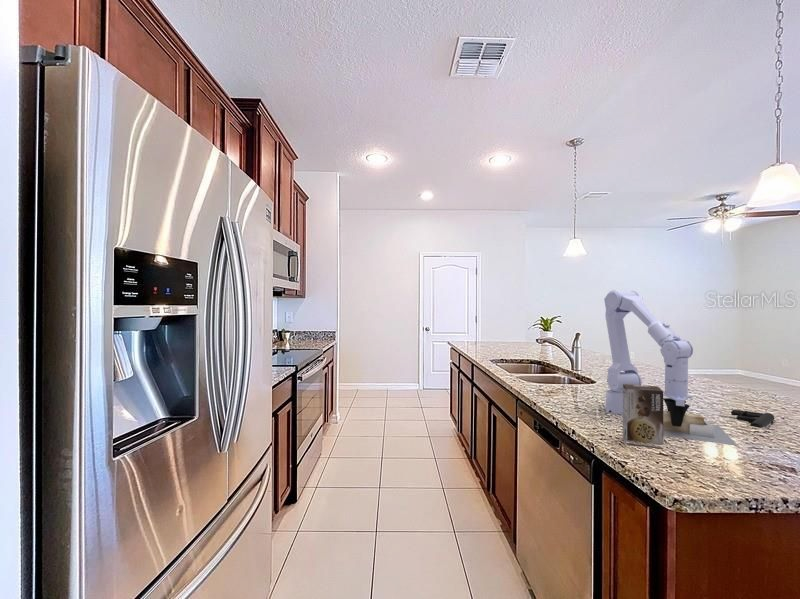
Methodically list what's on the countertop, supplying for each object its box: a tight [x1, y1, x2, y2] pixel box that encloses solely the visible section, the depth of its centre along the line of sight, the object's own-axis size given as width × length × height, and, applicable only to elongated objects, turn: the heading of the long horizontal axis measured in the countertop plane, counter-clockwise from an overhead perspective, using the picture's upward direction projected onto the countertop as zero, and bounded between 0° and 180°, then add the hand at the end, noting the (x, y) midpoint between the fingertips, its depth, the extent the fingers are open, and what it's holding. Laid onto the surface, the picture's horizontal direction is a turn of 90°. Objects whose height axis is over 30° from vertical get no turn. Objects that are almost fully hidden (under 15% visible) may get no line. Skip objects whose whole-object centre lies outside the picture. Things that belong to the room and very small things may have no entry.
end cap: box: [689, 420, 714, 438], centre depth 119 cm, size 6×6×3 cm
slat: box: [663, 410, 705, 433], centre depth 121 cm, size 14×3×5 cm, turn 64°
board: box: [663, 423, 739, 447], centre depth 122 cm, size 20×20×2 cm
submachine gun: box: [717, 409, 777, 429], centre depth 136 cm, size 3×20×16 cm
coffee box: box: [622, 384, 665, 450], centre depth 113 cm, size 9×6×16 cm
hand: (675, 424), depth 121 cm, fingers closed on slat, 3 cm apart
